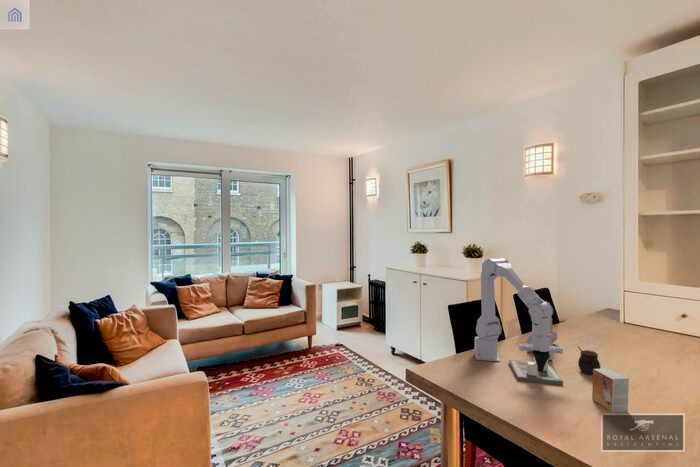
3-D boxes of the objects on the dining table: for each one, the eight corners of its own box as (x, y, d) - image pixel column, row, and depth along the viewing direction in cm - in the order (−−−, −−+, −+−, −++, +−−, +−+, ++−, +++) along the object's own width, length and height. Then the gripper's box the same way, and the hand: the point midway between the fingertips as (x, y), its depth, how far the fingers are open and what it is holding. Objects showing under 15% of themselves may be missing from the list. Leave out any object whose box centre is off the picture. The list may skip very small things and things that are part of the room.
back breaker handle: (535, 364, 140) (535, 355, 140) (533, 362, 142) (533, 352, 142) (543, 365, 139) (543, 355, 139) (541, 362, 142) (541, 353, 141)
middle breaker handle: (539, 370, 134) (539, 360, 134) (537, 367, 137) (537, 357, 137) (547, 371, 134) (547, 360, 133) (545, 368, 136) (545, 358, 136)
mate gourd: (604, 377, 132) (604, 351, 132) (582, 376, 134) (582, 350, 134) (594, 369, 140) (594, 344, 139) (574, 368, 141) (574, 343, 141)
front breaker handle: (528, 374, 130) (528, 364, 130) (526, 371, 133) (526, 361, 133) (537, 375, 129) (537, 365, 129) (535, 372, 132) (535, 362, 132)
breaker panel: (517, 380, 130) (517, 376, 130) (509, 363, 146) (509, 359, 146) (562, 385, 126) (562, 380, 126) (548, 366, 142) (548, 362, 142)
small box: (591, 400, 115) (592, 368, 115) (607, 399, 116) (607, 367, 116) (611, 412, 107) (612, 379, 107) (628, 412, 108) (629, 378, 108)
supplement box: (553, 361, 148) (553, 334, 148) (538, 360, 149) (538, 333, 149) (548, 356, 154) (548, 330, 154) (533, 355, 155) (533, 329, 155)
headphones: (539, 340, 176) (539, 302, 175) (558, 344, 170) (558, 304, 169) (526, 350, 161) (526, 309, 161) (546, 355, 155) (546, 312, 155)
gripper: (522, 336, 128) (521, 373, 128) (566, 339, 125) (565, 377, 125) (517, 330, 135) (517, 365, 135) (559, 333, 131) (559, 369, 132)
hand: (540, 370), depth 130 cm, fingers closed
